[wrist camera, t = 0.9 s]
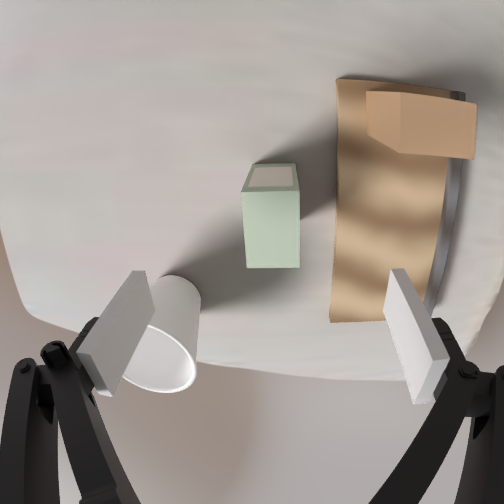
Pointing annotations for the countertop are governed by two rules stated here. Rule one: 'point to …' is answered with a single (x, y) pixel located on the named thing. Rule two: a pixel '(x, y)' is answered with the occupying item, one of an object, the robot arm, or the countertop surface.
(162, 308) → the cup
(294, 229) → the carton
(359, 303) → the wavy tan tray
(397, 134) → the faced carton
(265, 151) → the countertop surface
